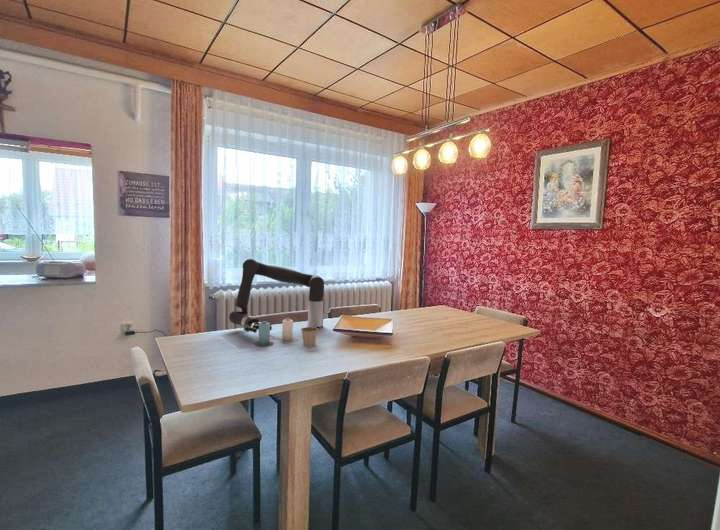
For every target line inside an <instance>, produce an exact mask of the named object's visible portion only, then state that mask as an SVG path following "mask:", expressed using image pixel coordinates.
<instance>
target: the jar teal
mask: <svg viewBox="0 0 720 530" xmlns="http://www.w3.org/2000/svg"><path fill="white" fill-rule="evenodd" d="M260 322H261V321H260ZM270 335H271V330H270V322H268V321H266V320H263V321H262V322H261V323H259V330H258V337H259V340H258V342H259V345H268V344H269V339H270Z"/></svg>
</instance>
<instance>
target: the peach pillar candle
mask: <svg viewBox="0 0 720 530" xmlns="http://www.w3.org/2000/svg"><path fill="white" fill-rule="evenodd" d="M293 329H294V320H293V319H292V318H291V319H290V317H287V318H285V319H282V331H281V333H282V334H281V335H282V336H281V338H282V340H283V341H291V340H292V337H293V334H294V333H293Z"/></svg>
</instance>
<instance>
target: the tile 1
mask: <svg viewBox="0 0 720 530" xmlns="http://www.w3.org/2000/svg"><path fill="white" fill-rule="evenodd" d="M254 338H255V339H257V340H258V341H259V336H254ZM277 338H278V337H276V336H274V335H272V334H270V339H269V341H274V340H276V339H277Z"/></svg>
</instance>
